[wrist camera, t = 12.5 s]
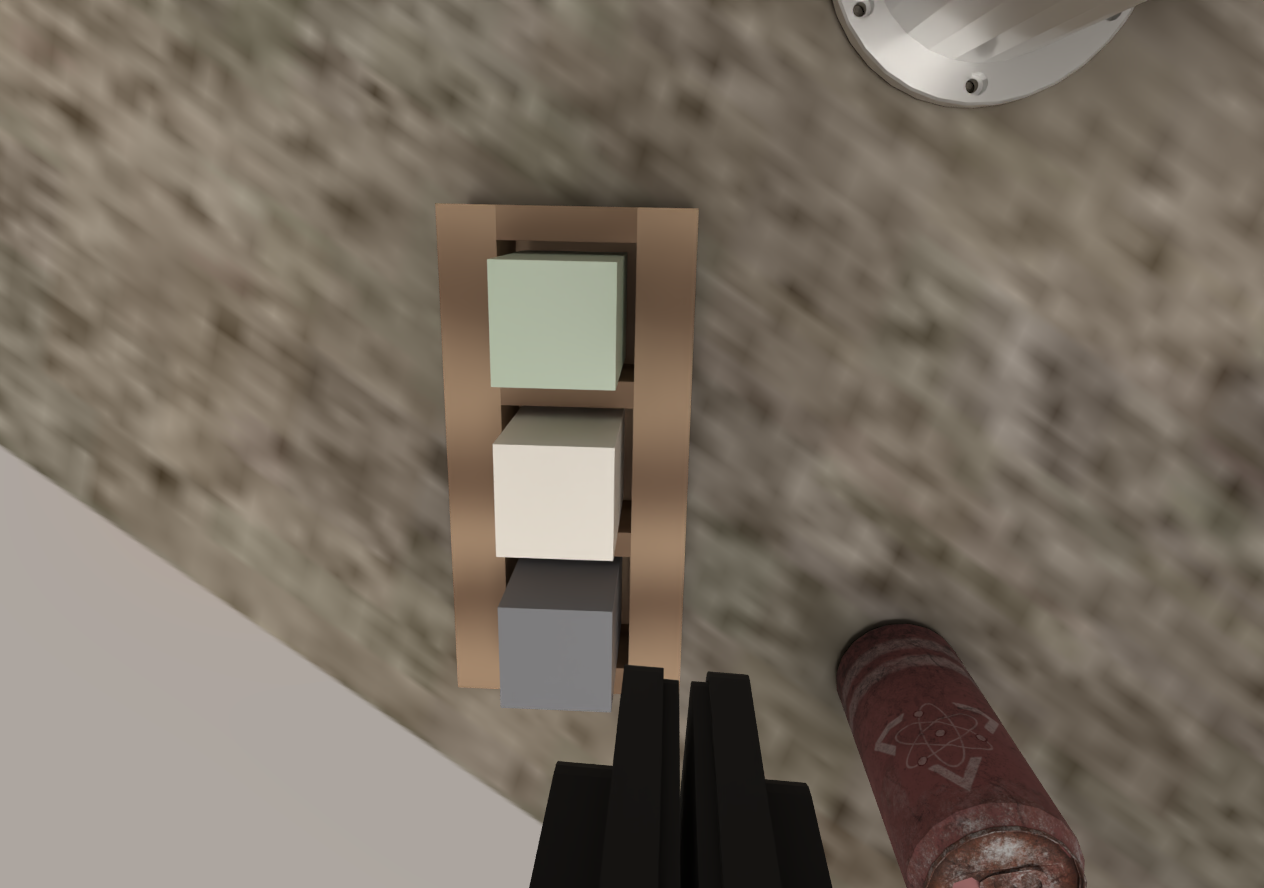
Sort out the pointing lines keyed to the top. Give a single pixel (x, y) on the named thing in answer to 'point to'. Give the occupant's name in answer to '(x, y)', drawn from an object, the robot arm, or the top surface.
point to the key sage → (557, 319)
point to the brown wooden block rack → (644, 389)
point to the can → (949, 770)
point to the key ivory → (559, 483)
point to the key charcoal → (560, 634)
